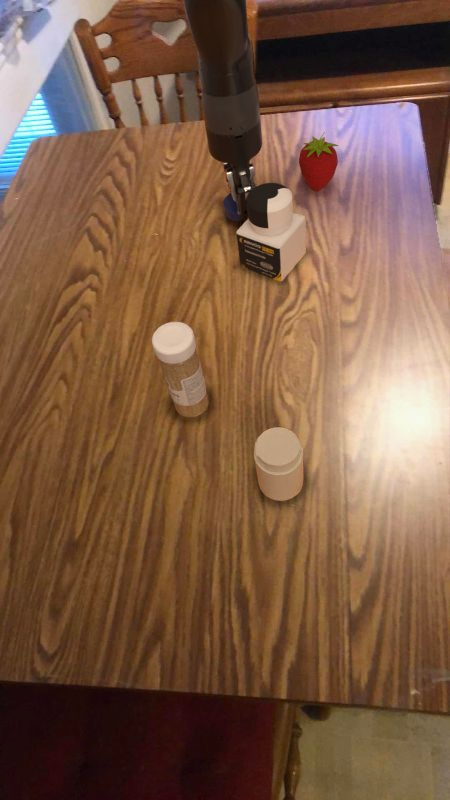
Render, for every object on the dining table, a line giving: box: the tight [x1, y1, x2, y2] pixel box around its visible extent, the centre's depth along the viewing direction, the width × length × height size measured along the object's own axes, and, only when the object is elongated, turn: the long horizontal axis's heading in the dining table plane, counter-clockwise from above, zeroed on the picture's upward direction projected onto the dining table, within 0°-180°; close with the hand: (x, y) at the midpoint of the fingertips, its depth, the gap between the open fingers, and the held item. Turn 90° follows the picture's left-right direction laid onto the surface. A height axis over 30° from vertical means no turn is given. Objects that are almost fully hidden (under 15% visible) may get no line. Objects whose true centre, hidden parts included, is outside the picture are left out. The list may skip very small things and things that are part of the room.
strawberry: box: [298, 131, 339, 192], centre depth 87 cm, size 6×8×10 cm
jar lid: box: [222, 191, 240, 223], centre depth 87 cm, size 6×6×2 cm
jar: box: [253, 426, 304, 502], centre depth 60 cm, size 5×5×8 cm
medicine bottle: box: [235, 182, 307, 282], centre depth 78 cm, size 7×7×12 cm
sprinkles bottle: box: [151, 321, 210, 418], centre depth 65 cm, size 5×5×13 cm
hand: (243, 220), depth 90 cm, fingers closed on jar lid, 5 cm apart
